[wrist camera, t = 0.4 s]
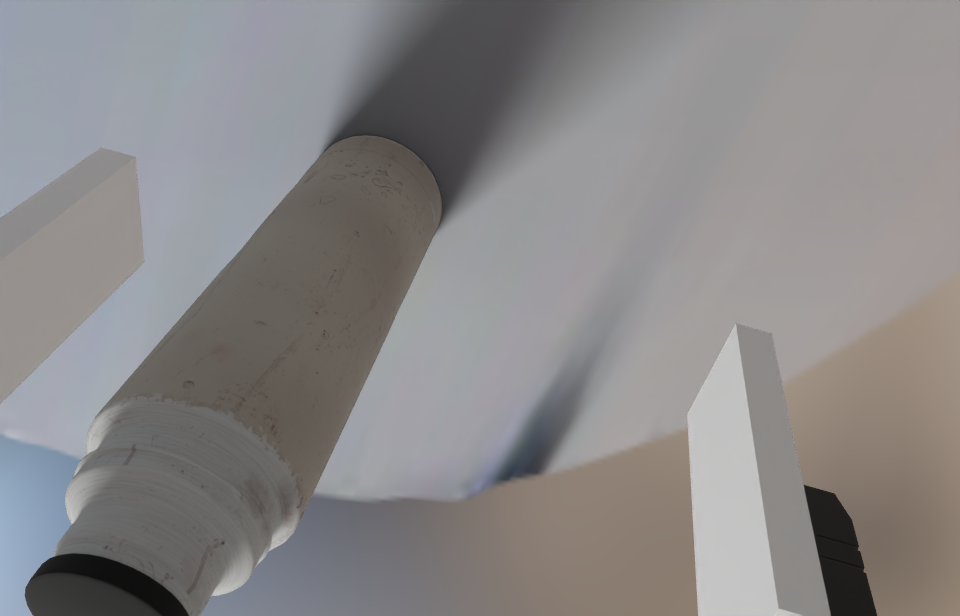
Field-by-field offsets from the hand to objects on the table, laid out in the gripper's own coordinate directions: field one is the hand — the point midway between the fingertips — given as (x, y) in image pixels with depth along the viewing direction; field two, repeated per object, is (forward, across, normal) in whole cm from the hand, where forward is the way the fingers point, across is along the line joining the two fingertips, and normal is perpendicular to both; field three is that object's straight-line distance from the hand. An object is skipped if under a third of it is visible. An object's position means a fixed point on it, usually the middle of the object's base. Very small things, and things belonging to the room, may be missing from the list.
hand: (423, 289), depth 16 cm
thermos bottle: (+25, -7, -13) cm, 29 cm away
